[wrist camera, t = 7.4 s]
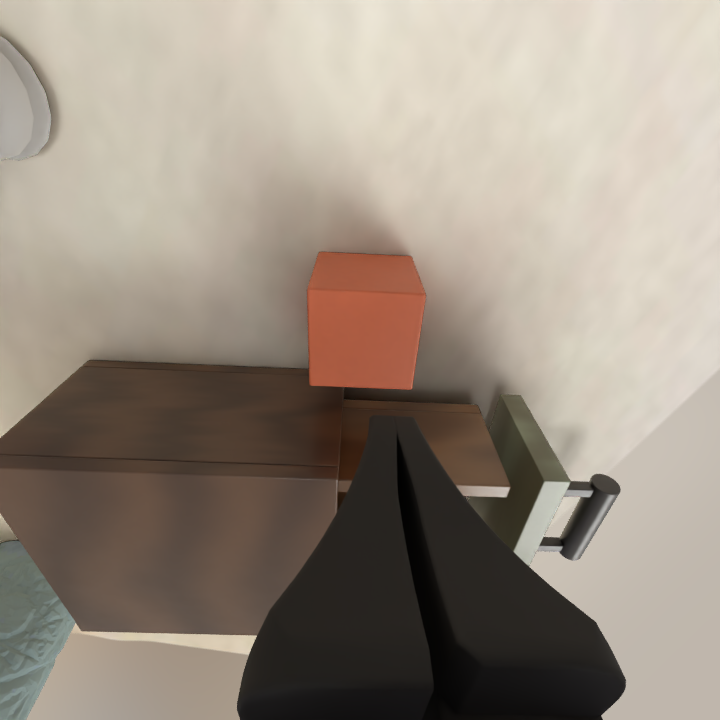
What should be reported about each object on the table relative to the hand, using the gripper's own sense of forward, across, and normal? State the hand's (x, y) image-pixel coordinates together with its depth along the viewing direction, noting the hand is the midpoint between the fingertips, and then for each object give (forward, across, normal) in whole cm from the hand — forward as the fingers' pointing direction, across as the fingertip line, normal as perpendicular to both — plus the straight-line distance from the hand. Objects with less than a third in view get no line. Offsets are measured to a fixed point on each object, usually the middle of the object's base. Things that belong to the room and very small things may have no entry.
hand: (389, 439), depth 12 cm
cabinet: (+9, +9, +10) cm, 17 cm away
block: (+10, +1, -1) cm, 10 cm away
